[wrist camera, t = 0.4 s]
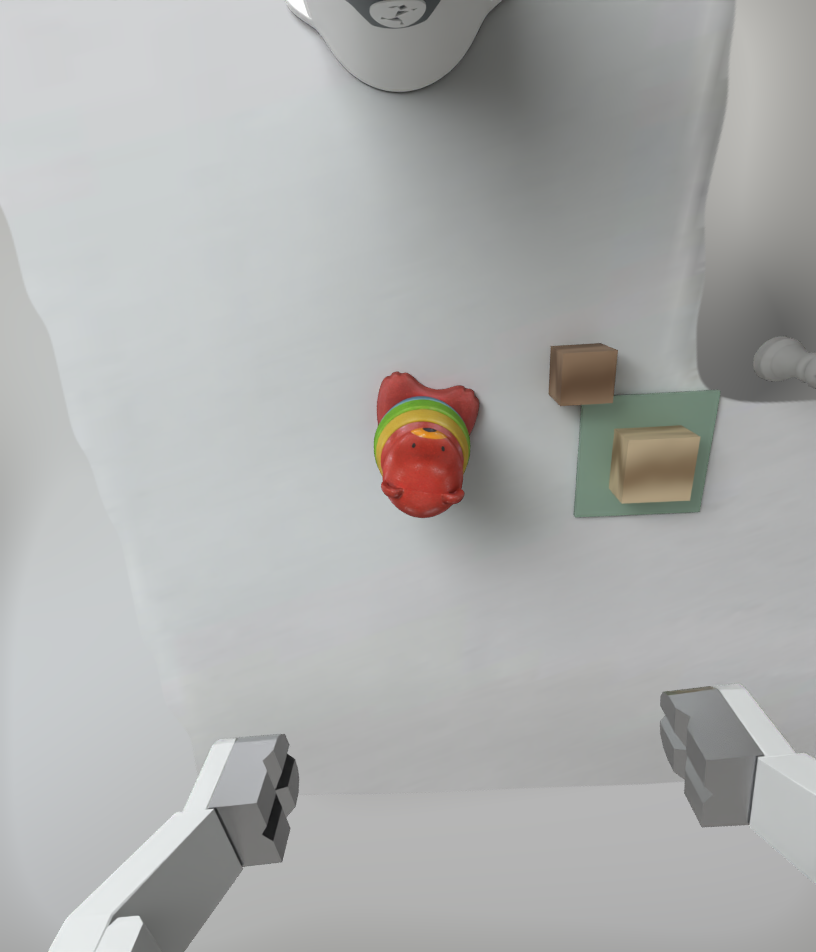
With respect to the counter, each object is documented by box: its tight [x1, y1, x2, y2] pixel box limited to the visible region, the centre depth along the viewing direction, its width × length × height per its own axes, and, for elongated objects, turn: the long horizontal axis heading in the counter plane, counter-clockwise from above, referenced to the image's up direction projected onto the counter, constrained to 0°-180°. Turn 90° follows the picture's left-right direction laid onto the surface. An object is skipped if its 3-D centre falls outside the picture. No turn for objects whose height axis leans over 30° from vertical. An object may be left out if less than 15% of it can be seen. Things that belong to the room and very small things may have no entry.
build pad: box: [574, 390, 720, 517], centre depth 55 cm, size 14×14×1 cm
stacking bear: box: [374, 372, 479, 518], centre depth 46 cm, size 11×10×18 cm
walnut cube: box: [549, 343, 618, 406], centre depth 50 cm, size 5×5×5 cm
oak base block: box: [609, 425, 700, 504], centre depth 53 cm, size 7×7×4 cm
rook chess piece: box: [753, 336, 816, 389], centre depth 47 cm, size 4×4×8 cm
